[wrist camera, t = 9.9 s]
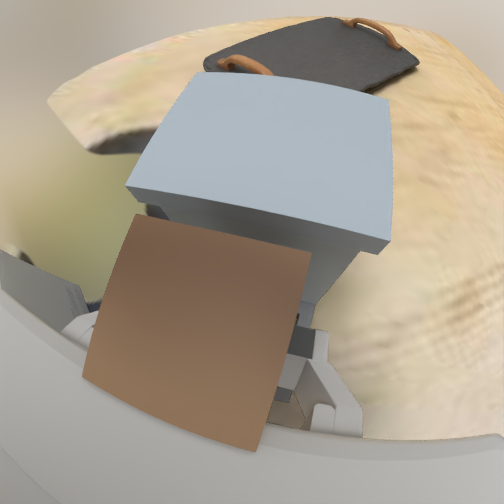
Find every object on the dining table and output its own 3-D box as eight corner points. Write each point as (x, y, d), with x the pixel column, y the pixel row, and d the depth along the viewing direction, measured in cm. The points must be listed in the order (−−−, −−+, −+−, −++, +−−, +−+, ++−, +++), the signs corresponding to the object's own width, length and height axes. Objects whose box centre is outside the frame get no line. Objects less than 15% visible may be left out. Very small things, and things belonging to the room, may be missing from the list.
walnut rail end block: (270, 381, 15) (255, 452, 4) (208, 362, 16) (81, 376, 5) (288, 319, 16) (311, 252, 5) (226, 303, 17) (135, 213, 6)
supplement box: (80, 283, 26) (-3, 243, 14) (103, 342, 24) (9, 326, 12) (43, 315, 25) (-36, 289, 14) (63, 370, 23) (-25, 364, 11)
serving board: (336, 24, 43) (338, 3, 38) (424, 70, 36) (432, 47, 30) (188, 79, 37) (179, 50, 32) (289, 150, 30) (291, 111, 24)
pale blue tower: (291, 397, 21) (323, 496, 5) (194, 369, 22) (55, 390, 6) (329, 244, 25) (388, 99, 9) (240, 224, 27) (197, 72, 11)
